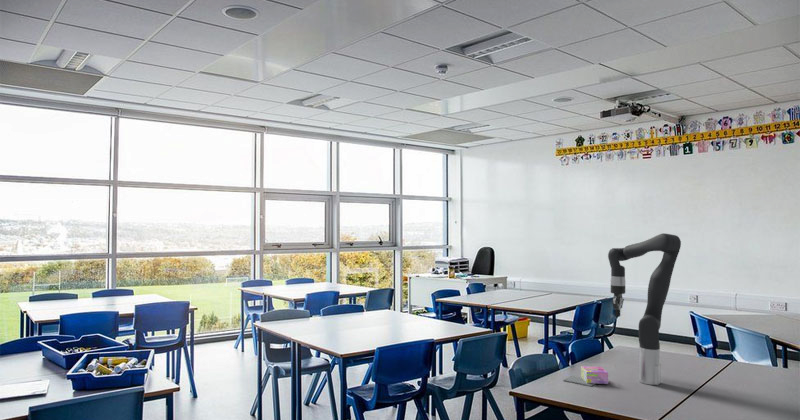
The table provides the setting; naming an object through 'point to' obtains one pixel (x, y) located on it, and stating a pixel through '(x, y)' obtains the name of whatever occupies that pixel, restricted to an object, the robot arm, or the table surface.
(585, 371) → the box
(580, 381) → the mat
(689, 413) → the table surface
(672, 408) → the table surface
